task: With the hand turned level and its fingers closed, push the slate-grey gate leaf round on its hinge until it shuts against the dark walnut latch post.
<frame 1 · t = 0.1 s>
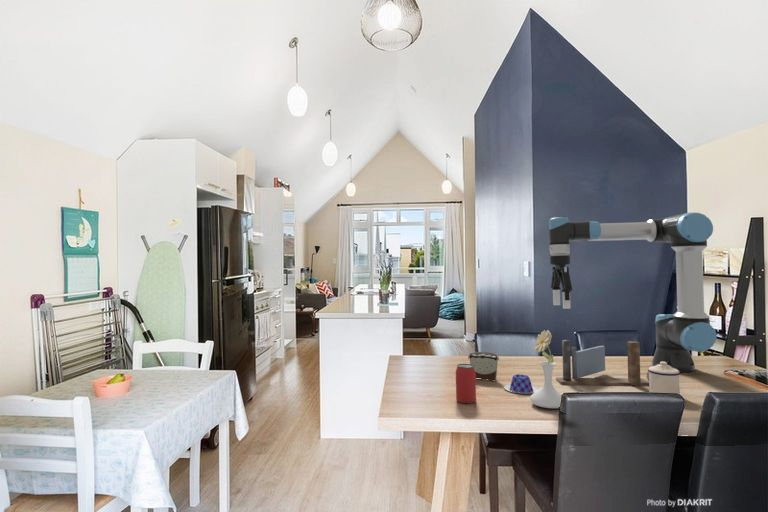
hand: (561, 306, 174), 28 cm above the table, tool pointing down, fingers open, 13 cm apart
teacup with lid: (661, 395, 146), on the table
food container: (485, 378, 171), on the table
flower in vase: (548, 407, 137), on the table
gate frame: (602, 382, 161), on the table
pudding: (521, 391, 155), on the table
gate leaf: (588, 359, 168), point 8 cm above the table, hinge at 40.0°
beer can: (466, 401, 143), on the table
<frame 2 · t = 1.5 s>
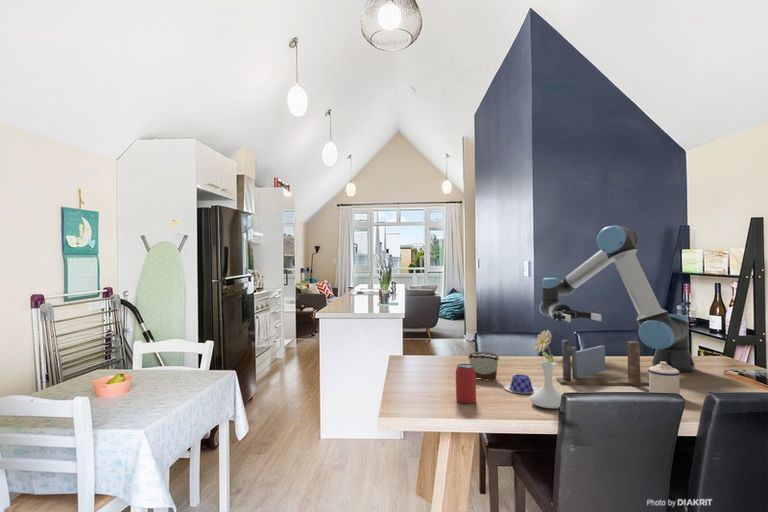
hand: (585, 318, 180), 22 cm above the table, tool horizontal, fingers open, 13 cm apart
nothing on the table moved.
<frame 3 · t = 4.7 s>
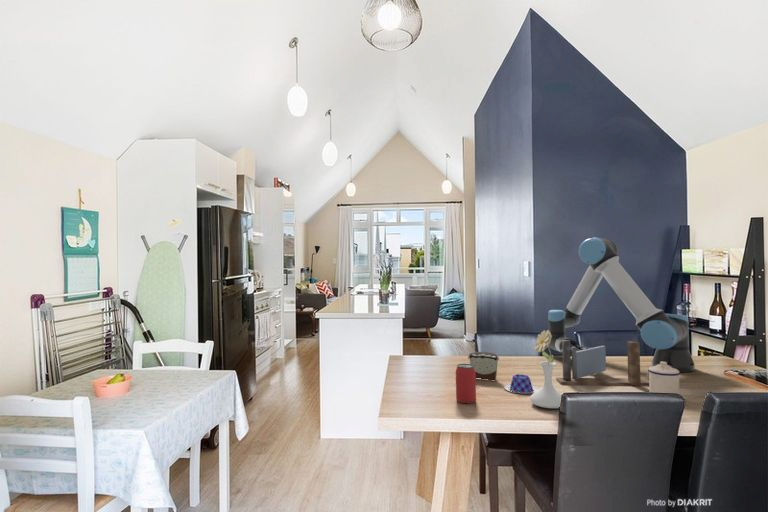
hand: (595, 358, 172), 7 cm above the table, tool horizontal, fingers closed
gate leaf: (589, 359, 168), point 8 cm above the table, hinge at 39.1°, touching gripper
everything else where it was.
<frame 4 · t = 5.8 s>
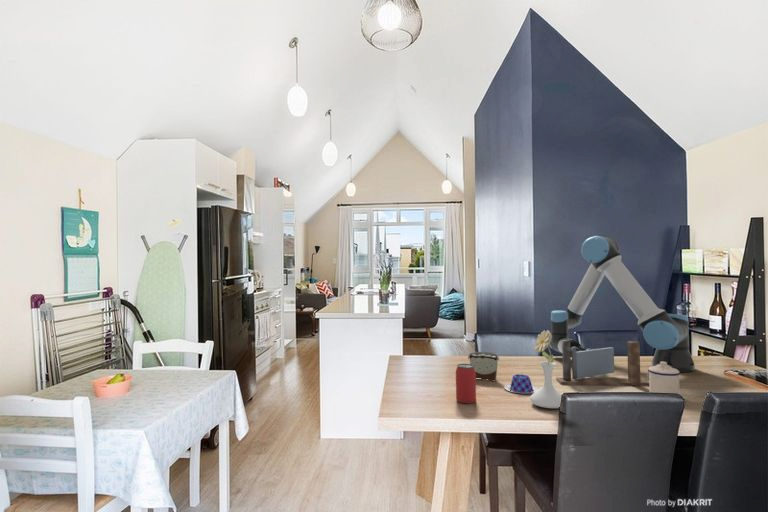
hand: (599, 359, 169), 7 cm above the table, tool horizontal, fingers closed
gate leaf: (593, 360, 166), point 8 cm above the table, hinge at 28.8°, touching gripper
everything else where it was.
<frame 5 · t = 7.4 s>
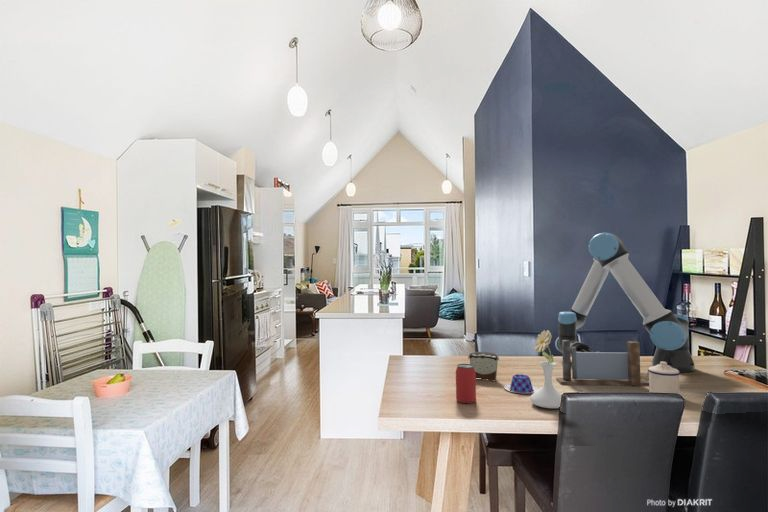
hand: (609, 364, 162), 7 cm above the table, tool horizontal, fingers closed
gate leaf: (601, 363, 161), point 8 cm above the table, hinge at -1.1°, touching gate frame, gripper
everything else where it was.
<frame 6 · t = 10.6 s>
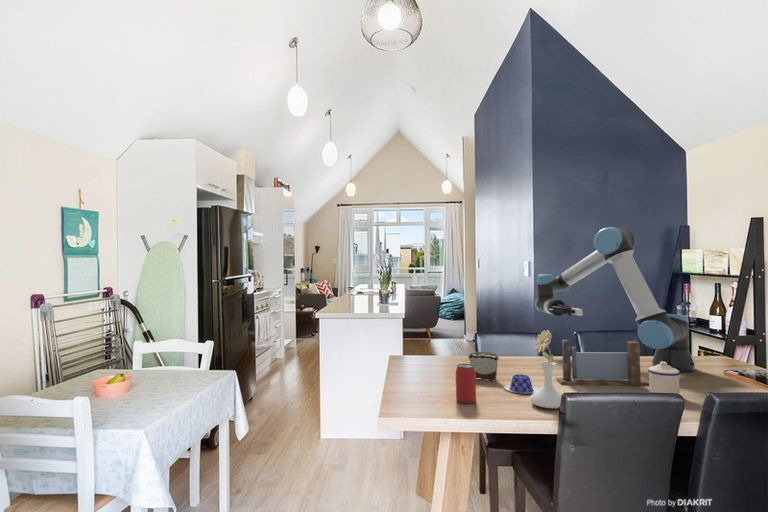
hand: (580, 312, 180), 25 cm above the table, tool horizontal, fingers closed
gate leaf: (601, 363, 161), point 8 cm above the table, hinge at -0.4°
everything else where it was.
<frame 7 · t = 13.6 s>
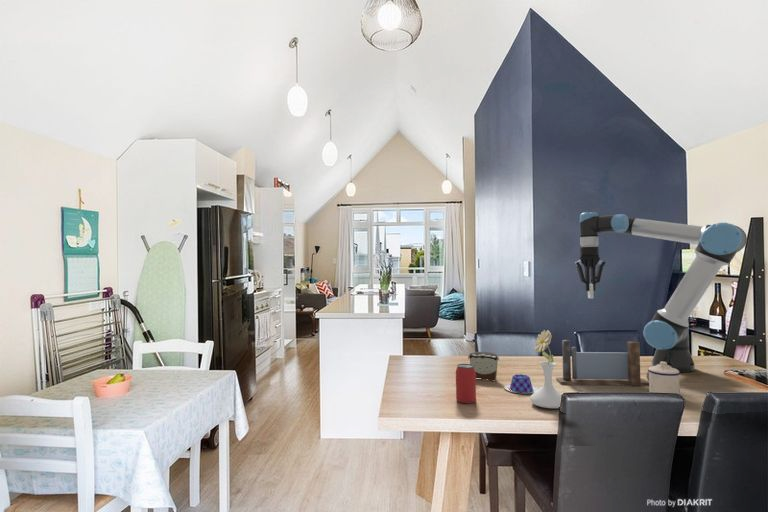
hand: (590, 298, 193), 29 cm above the table, tool pointing down, fingers closed
nothing on the table moved.
at the end: gate leaf at +0° (first picture: +40°) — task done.
